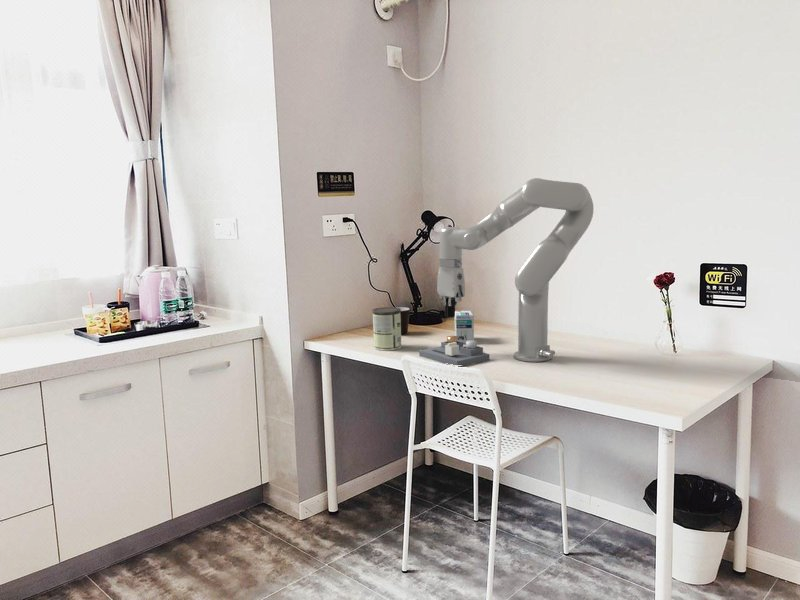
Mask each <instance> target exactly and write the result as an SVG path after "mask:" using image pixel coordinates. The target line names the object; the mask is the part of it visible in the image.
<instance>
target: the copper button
mask: <svg viewBox="0 0 800 600" xmlns="http://www.w3.org/2000/svg"><path fill="white" fill-rule="evenodd" d="M446 341H447V343H453V342H457V336H455V335H447V336H446Z"/></svg>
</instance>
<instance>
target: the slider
mask: <svg viewBox="0 0 800 600" xmlns="http://www.w3.org/2000/svg"><path fill="white" fill-rule="evenodd" d="M447 344H448V345H445V354H447V355H450V356H453V355H458V354H459V345H457V342H453V343H447Z"/></svg>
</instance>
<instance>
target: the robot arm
mask: <svg viewBox="0 0 800 600" xmlns="http://www.w3.org/2000/svg"><path fill="white" fill-rule="evenodd" d="M539 208H547V209H554V210H562V211H563V210H564V211H565V212H564V215H563V216H562V218H560V220H559V222H558V223H557V225H556V226H555V227H554V229H553V230H552V231H551V232H550V234H549V235H548V236H547V237H546V238H545V239H543V240H542V241H541V242H539V244H538V245H537V246H536V248H535V249H534V250H533V251H532V252H531V254H530V255H529V257H528V258H527V259H526V261H525V262H524V263H523V264H522V266H521V267H520V268H519V269H518V271H517V273H516V275H515V278H514V285H515V288H516V290H517V291H518V313H517V314H518V315H517V316H518V322H517V323H518V326H517V327H518V333H517V334H518V336H517V337H518V351H515V352H514V353H513V359H515V360H517V361H522V362H529V363H531V362H532V363H533V362H534V363H538V362H547V361H550V360H552V359H553V357H554V356H555V354H556V351H555V350H552V349H551V346H550V344H548V332H549V331H548V326H549V321H548V317H549V315H548V313H549V290H550V289H549V285H550V282H551V279H552V278H553V277H554V276H555V275H556V274H557V272H558V271H559V270H560V268H561V267H562V266H563V264H564V263H565V262H566V261H567V258H568V257H569V255H570V253H571V251H572V250H573V249H574V248H575V247H576V245H577V244H578V242H579V241H580V240H581V238H582V236H584V234H585V233H586V231H587V230H588V228H590V227H589V226H590V225H591V222H592V220H593V217H594V216H593V215H594V202H593V199H592V196H591V194H590V191H589V190H588V188H587V187H586V186H585V185H584V184H582V183H579V182H571V181H562V180H561V181H559V180H553V179H552V180H550V179H544V178H538V177H537V178H536V177H535V178H531V179H529V180H528V181H526V182H525V183H524V184H523V186H522V187H521V188H519V189H518V190H517V191H515V192H514V193H512V194H511V195H509V196H508V197H507V198H505V199H504V200H502V201H501V202H500V203H499V204H498V205H497V206H496V208H495V209H494V210H493V211H492V212H491V213H490V214H488V215H487V216H486V217H484V218H483V219H482V220H480V221H479V222H477V223H476V224H475V225H473V226H470V227H469V226H468V227H464V228H461V227H457V226H444V227H442V228H440V230H439V263H438V265H439V266H438V272H437V280H436V289H437V290H436V291H437V294H438V298H439V299H441V300H442V301H443V306H444V317H445V318H454V317H455V311H456V306H457V303H458V302H459V303H460V302H462V298H464V297H465V295H466V282H465V273H464V268H462V265H463V261H462V259H463V257H462V256H463V250H468V251H475V250H477V249H479V248H482V247H484V246H485V245H486V244H489V242H491V241H492V240H494V239H495V238H496V237H498V236H499V235H500V234H503V232H505V231H506V230H508V229H510V228H512V227H513V226H515V225H516V224H517V223H519V222H520V221H522V220H523V219H524V218H526V217H527V216H529V215H530V214H533V212H535V211H537V209H539Z"/></svg>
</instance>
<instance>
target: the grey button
mask: <svg viewBox="0 0 800 600" xmlns="http://www.w3.org/2000/svg"><path fill="white" fill-rule="evenodd" d="M477 343H478V342H477V340H475V339H474V340H469V341H466V344H465V346H466V348H467V349H476V348H477V346H478V344H477Z"/></svg>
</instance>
